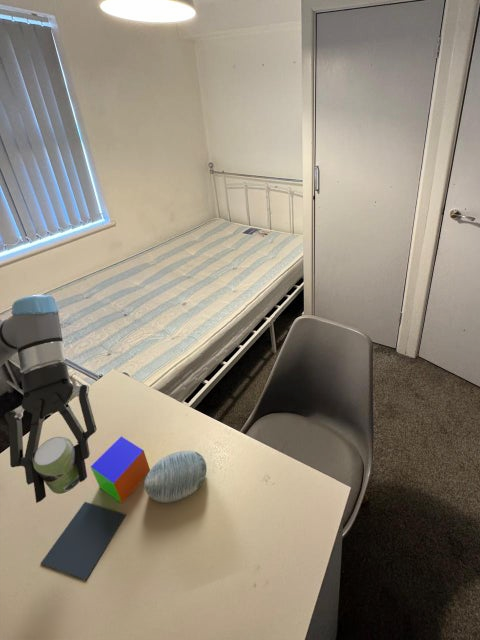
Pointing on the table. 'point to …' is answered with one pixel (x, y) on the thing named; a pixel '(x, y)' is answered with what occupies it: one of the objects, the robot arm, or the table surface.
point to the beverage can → (57, 464)
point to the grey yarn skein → (175, 476)
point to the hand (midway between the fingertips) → (62, 489)
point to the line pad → (84, 541)
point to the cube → (121, 469)
